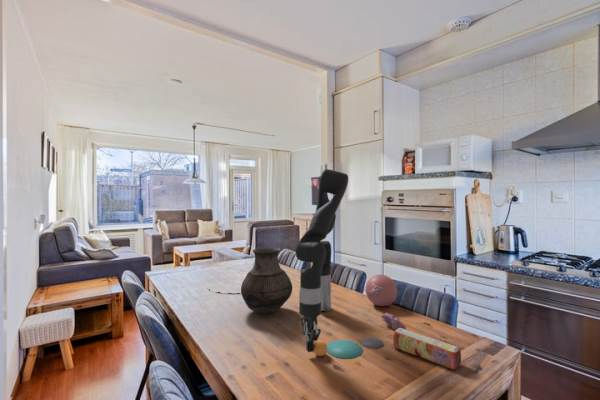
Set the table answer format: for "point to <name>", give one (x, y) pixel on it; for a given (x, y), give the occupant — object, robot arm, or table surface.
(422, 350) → the snack package
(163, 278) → the table surface
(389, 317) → the video game controller
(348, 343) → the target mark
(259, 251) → the vase
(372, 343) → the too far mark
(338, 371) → the table surface
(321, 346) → the ball
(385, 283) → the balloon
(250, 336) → the table surface
